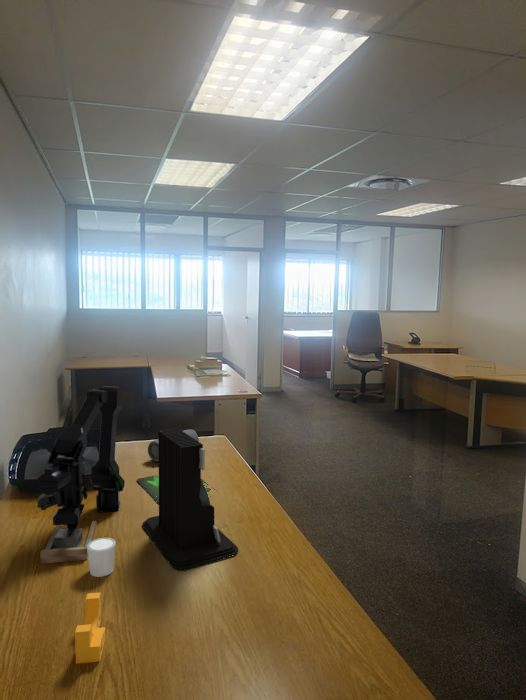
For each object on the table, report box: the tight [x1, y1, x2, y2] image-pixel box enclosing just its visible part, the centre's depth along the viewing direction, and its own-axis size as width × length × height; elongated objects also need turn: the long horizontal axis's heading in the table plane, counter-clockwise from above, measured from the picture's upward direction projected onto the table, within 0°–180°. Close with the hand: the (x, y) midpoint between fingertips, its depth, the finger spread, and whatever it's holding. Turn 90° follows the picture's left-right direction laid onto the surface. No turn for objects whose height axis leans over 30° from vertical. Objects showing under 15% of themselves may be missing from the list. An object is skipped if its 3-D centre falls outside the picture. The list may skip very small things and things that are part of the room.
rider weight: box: [53, 527, 84, 549], centre depth 132 cm, size 6×5×4 cm
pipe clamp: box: [74, 592, 107, 665], centre depth 96 cm, size 12×4×6 cm, turn 9°
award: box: [141, 427, 239, 571], centre depth 137 cm, size 30×19×30 cm, turn 31°
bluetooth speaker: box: [147, 429, 200, 462], centre depth 208 cm, size 23×9×10 cm, turn 147°
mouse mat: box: [136, 474, 216, 505], centre depth 175 cm, size 27×22×1 cm
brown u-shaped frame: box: [39, 520, 98, 565], centre depth 134 cm, size 11×20×3 cm, turn 12°
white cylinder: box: [87, 537, 116, 578], centre depth 121 cm, size 7×7×7 cm
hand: (72, 533), depth 136 cm, fingers closed
